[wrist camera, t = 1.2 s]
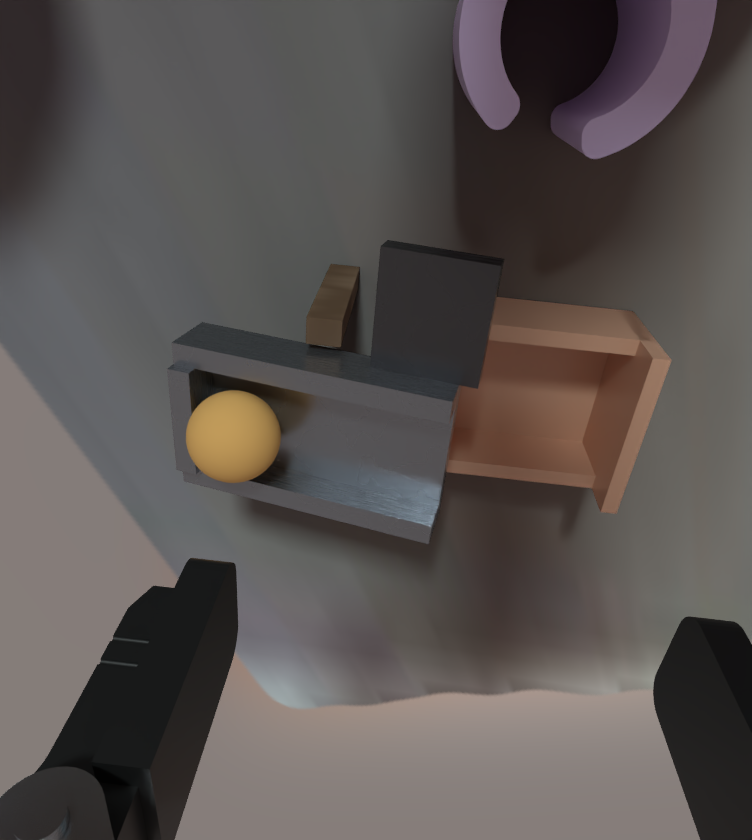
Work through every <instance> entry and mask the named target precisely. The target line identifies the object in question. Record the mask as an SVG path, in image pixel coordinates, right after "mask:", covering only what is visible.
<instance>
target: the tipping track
mask: <svg viewBox="0 0 752 840" xmlns="http://www.w3.org/2000/svg"><path fill="white" fill-rule="evenodd" d="M503 262H504V259H502V258H495V257H489V256H483V255H477V254H471V253H465V252H458V251H452V250H446V249H440V248H434V247H428V246H422V245H415V244H409V243H403V242H397V241H391V240H387V241H386V242H385V243H384V244H383V245H382V246H381V249H380V261H379V272H378V283H377V294H376V306H375V317H374V328H373V339H372V350H371V356H367V355H362V354H357V353H352V352H347V351H342V350H337V349H332V348H327V347H322V346H317V345H312V344H306V343H302V342H298V341H293V340H288V339H283V338H278V337H273V336H268V335H263V334H258V333H253V332H248V331H243V330H238V329H233V328H228V327H223V326H218V325H213V324H208V323H203V322H202V323H200V324H199V325H197V326H196V327H194V328H193V329H191V330H190V331H188V332H187V333H185V334H184V335H182V336H181V337H179V338H178V339H176V340H175V341H173V342H172V351H173V363H174V364H173V365H172V366H170V367H169V368H168V369H167V373H168V383H169V394H170V404H171V415H172V426H173V436H174V447H175V457H176V468H177V470H180V471H183V476H184V481H185V482H189V483H193V484H197V485H201V486H205V487H209V488H212V489H216V490H220V491H224V492H228V493H232V494H236V495H239V496H243V497H247V498H251V499H255V500H259V501H263V502H267V503H270V504H274V505H278V506H282V507H286V508H290V509H294V510H297V511H301V512H305V513H309V514H313V515H317V516H321V517H325V518H328V519H332V520H336V521H340V522H344V523H348V524H352V525H355V526H359V527H363V528H367V529H371V530H375V531H379V532H383V533H386V534H390V535H394V536H398V537H402V538H406V539H410V540H413V541H417V542H421V543H425V544H429V542H430V539H431V536H432V533H433V529H434V526H435V523H436V520H437V517H438V514H439V511H440V506H441V500H442V494H443V488H444V483H445V477H446V471H447V465H448V460H449V454H450V448H451V443H452V437H453V431H454V425H455V420H456V414H457V408H458V403H459V397H460V391H461V386H466V387H470V388H475V389H478V387H479V384H480V381H481V377H482V372H483V367H484V361H485V356H486V351H487V346H488V341H489V335H490V330H491V325H492V320H493V315H494V309H495V304H496V299H497V294H498V288H499V283H500V278H501V273H502V268H503ZM229 390H239V391H245V392H248V393H251V394H254V395H256V396H257V397H259V398H261V399H262V400H263V401H265V402H266V403H267V404H268V405H269V406H270V408H271V409H272V410H273V412H274V413H275V415H276V417H277V419H278V422H279V426H280V430H281V442H280V447H279V451H278V453H277V456H276V458H275V460H274V461H273V463H272V464H271V465H270V466H269V468H268V469H267V470H266V471H264V472H263V473H262V474H260V475H259V476H257V477H255V478H253V479H251V480H248V481H245V482H240V483H226V482H222V481H218V480H215V479H213V478H211V477H209V476H207V475H206V474H204V473H203V472H202V471H201V470H200V469H199V468H198V467H197V466H196V465H195V463H194V462H193V460H192V459H191V457H190V455H189V452H188V449H187V444H186V429H187V425H188V422H189V419H190V417H191V415H192V413H193V412H194V410H195V409H196V408H197V406H198V405H199V404H200V403H201V402H203V401H204V400H205V399H207V398H208V397H210V396H212V395H214V394H216V393H219V392H223V391H229Z"/></svg>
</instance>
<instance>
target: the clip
mask: <svg viewBox="0 0 752 840" xmlns="http://www.w3.org/2000/svg"><path fill="white" fill-rule="evenodd" d="M506 3H507V0H459V3H458V6H457V10H456V15H455V20H454V27H453V56H454V63H455V68H456V72H457V75H458V79H459V82H460V84H461V87H462V89H463V91H464V93H465V95H466V97H467V99H468V100H469V102H470V104H471V105H472V106H473V108H474V109H475V110H476V112H477V113H478V114H479V116H480V117H481V118H482V119H483V121H484V122H485V123H486V125H487V126H488V127H490V128H491V129H494V130H501V129H504V128H505V127H507V126H508V125H509V124H510V123H511V122H512V121H513V119H514V118H515V117H516V115H517V114H518V112H519V109H520V100H519V97H518V95H517V93H516V92H515V90H514V89H513V87H512V85H511V84H510V82H509V80H508V77H507V75H506V72H505V69H504V65H503V61H502V55H501V45H500V35H501V24H502V18H503V13H504V10H505V6H506ZM616 3H617V9H618V31H617V37H616V42H615V45H614V49H613V51H612V54H611V56H610V59H609V61H608V63H607V65H606V66H605V68H604V70H603V71H602V73H601V74H600V75H599V77H598V78H597V79H596V80H595V81H594V83H593V84H592V85H591V86H590V87H589V88H587V89H586V90H585V91H584V92H583V93H581V94H580V95H578V96H577V97H575V98H573V99H571V100H569V101H567V102H565V103H562V104H560V105H558V106H557V107H556V108H555V109H554V110H553V112H552V114H551V130H552V132H553V133H554V134H555V135H556V136H557V137H559V138H560V139H562V140H563V141H565V142H566V143H568V144H569V145H571V146H572V147H574V148H575V149H577V150H578V151H580V152H581V153H583V154H584V155H586V156H587V157H589V158H591V159H599V158H602V157H605V156H608V155H611V154H613V153H615V152H618V151H620V150H622V149H624V148H626V147H628V146H629V145H631V144H633V143H634V142H636V141H638V140H639V139H640V138H642V137H643V136H645V135H646V134H647V133H649V132H650V131H651V130H652V129H653V128H655V127H656V126H657V125H658V124H659V123H660V122H661V121H662V120H663V119H664V118H665V117H666V116H667V115H668V114H669V113H670V112H671V111H672V109H673V108H674V107H675V106H676V104H677V103H678V102H679V101H680V99H681V98H682V96H683V95H684V94H685V92H686V91H687V89H688V87H689V86H690V84H691V83H692V81H693V79H694V77H695V75H696V73H697V71H698V70H699V67H700V65H701V63H702V61H703V58H704V56H705V53H706V50H707V47H708V44H709V41H710V37H711V34H712V29H713V25H714V19H715V12H716V6H717V0H616Z"/></svg>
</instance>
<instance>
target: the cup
mask: <svg viewBox="0 0 752 840" xmlns="http://www.w3.org/2000/svg"><path fill="white" fill-rule="evenodd" d="M670 363H671V359H670V358H669V357H668V355H667V354H666V353H665V351H664V350H663V349H662V348H661V346H660V345H659V344H658V342H657V341H656V340H655V339H654V337H653V336H652V335H651V334H650V332H649V331H648V330H647V328H646V327H645V326H644V325H643V323H642V322H641V321H640V319H639V318H638V317H637V316H636V314H635V313H634V312H633V311H626V310H616V309H607V308H598V307H588V306H579V305H569V304H560V303H551V302H541V301H532V300H522V299H513V298H504V297H497V299H496V304H495V309H494V315H493V320H492V325H491V330H490V335H489V341H488V346H487V351H486V356H485V361H484V367H483V372H482V377H481V381H480V384H479V387H478V389H475V388H470V387H466V386H461V391H460V397H459V403H458V408H457V414H456V420H455V425H454V431H453V437H452V443H451V448H450V454H449V460H448V465H447V471H446V472H451V473H460V474H469V475H477V476H486V477H495V478H504V479H513V480H522V481H531V482H540V483H549V484H558V485H567V486H576V487H585V488H592V490H593V493H594V496H595V498H596V501H597V504H598V506H599V509H600V512H606V513H614V514H616V513H617V510H618V508H619V505H620V502H621V499H622V497H623V494H624V491H625V488H626V485H627V483H628V480H629V477H630V474H631V472H632V469H633V466H634V463H635V460H636V458H637V455H638V452H639V449H640V447H641V444H642V441H643V438H644V435H645V433H646V430H647V427H648V424H649V421H650V419H651V416H652V413H653V410H654V408H655V405H656V402H657V399H658V396H659V394H660V391H661V388H662V385H663V383H664V380H665V377H666V374H667V371H668V369H669V366H670Z"/></svg>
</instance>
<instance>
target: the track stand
mask: <svg viewBox="0 0 752 840" xmlns="http://www.w3.org/2000/svg"><path fill="white" fill-rule="evenodd" d="M359 269H360V267H354V266H345V265H335V264H331V265H330V267H329V269H328V271H327V273H326V276H325V278H324V280H323V282H322V284H321V287H320V289H319V291H318V293H317V295H316V298H315V300H314V302H313V304H312V306H311V308H310V311H309V313H308V315H307V320H306V344H315V345H324V346H333V347H341V345H342V342H343V338H344V335H345V332H346V328H347V325H348V322H349V318H350V315H351V311H352V308H353V305H354V301H355V298H356V294H357V291H358V283H359Z"/></svg>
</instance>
